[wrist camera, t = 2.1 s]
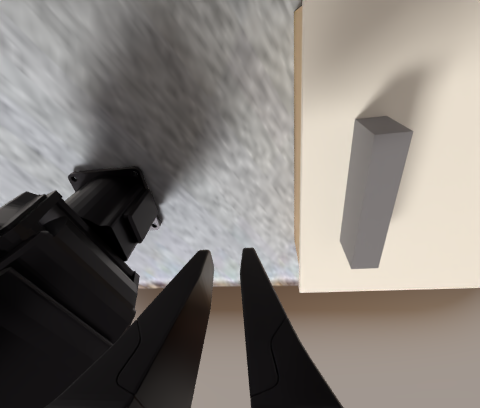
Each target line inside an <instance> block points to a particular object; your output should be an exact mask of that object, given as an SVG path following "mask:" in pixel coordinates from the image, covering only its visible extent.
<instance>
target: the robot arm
mask: <svg viewBox="0 0 480 408" xmlns="http://www.w3.org/2000/svg"><path fill="white" fill-rule="evenodd" d="M133 171H135V172H137V174H134V172H133ZM74 177H76V178H77V179H75V178H74ZM68 179H69V181H70V183H71V184H72V186H73V188H74V190H75V193H74V194H73V195H71V196H70V197H69V198H68V199H67V200H65V201H64V200H63V199H62V196H61V195H60V194H59V193H58V192H57V191H56V190H55V191H53V192H51V193H49V194H47V195H45V194H43V195H36V194H33V193H30V192H24V193H23V194H21V195H19V196H17V197H16V198H14V199H13V200H11V201H10V202H8V203H7V204H5V205H4V206H2V207H1V208H0V408H191V403H192V399H193V394H194V389H195V384H196V379H197V374H198V369H199V364H200V359H201V354H202V349H203V344H204V339H205V334H206V329H207V324H208V319H209V314H210V309H211V298H212V287H213V275H214V264H213V260H212V256H211V252H210V251H209V250H199V251H198V252H197V253H196V254H195V255H194V256H193V257H192V258H191V260H190V261H189V262H188V263H187V264H186V265H185V266H184V267H183V268H182V270H181V271H180V272H179V273H178V274H177V275H176V276H175V277H174V278H173V279H172V281H171V282H170V283H169V284H168V285H167V286H166V287H165V288H164V289H163V291H162V292H161V293H160V294H159V295H158V296H157V297H156V298H155V299H154V301H153V302H152V303H151V304H150V305H149V306H148V307H147V308H146V309H145V310H144V312H143V313H142V314H141V315H140V316H139V317H138V318H137V320H136V321H134V323H133V324H132V325H131V323H132V321H133V319H134V317H135V313H136V311H135V303H136V298H137V290H138V283H139V277H140V276H139V275H138V274H137V273H136V272H135V271H132V270H131V269H130V268H129V267H128V265H127V264H126V263H125V262H124V261H127V260H128V258H129V256H130V255H131V253H132V251H133V250H134V248H135V246H136V245H137V243H141V242H142V241H143V239H144V238H145V236H146V234H147V232H148V231H149V230H157V229H159V227H160V225H161V222H160V220H159V217H158V210H157V207H156V205H155V202H154V199H153V196H152V194H151V191H150V190H149V189H148V187H147V184H146V181H145V179H144V176H143V173H142V171H141V169H140V168H138V167H135V166H134V167H123V168H112V169H101V170H90V171H79V172H72V173H71V174H70V175H69V176H68ZM154 224H156V225H154ZM240 281H241V293H242V304H243V317H244V329H245V341H246V352H247V365H248V376H249V388H250V398H251V408H343V406H342V405H341V403H340V402H339V401H338V399H337V398H336V396H335V395H334V393H333V392H332V390H331V388H330V387H329V386H328V384H327V382H326V381H325V380H324V378H323V376H322V375H321V373H320V372H319V370H318V369H317V367H316V366H315V364H314V363H313V361H312V360H311V358H310V357H309V355H308V353H307V352H306V350H305V348H304V347H303V345H302V343H301V342H300V340H299V338H298V336H297V334H296V332H295V330H294V329H293V327H292V325H291V322H290V321H289V319H288V318H287V315H286V313H285V311H284V309H283V307H282V304H281V302H280V301H279V298H278V296H277V294H276V292H275V290H274V288H273V286H272V284H271V282H270V280H269V278H268V276H267V274H266V272H265V270H264V268H263V266H262V264H261V262H260V260H259V258H258V256H257V254H256V251H255V249H254V248H244V249H243V252H242V260H241V268H240ZM130 325H131V326H130Z"/></svg>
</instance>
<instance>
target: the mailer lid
mask: <svg viewBox="0 0 480 408" xmlns="http://www.w3.org/2000/svg"><path fill="white" fill-rule="evenodd" d="M450 288H480V0H302V72H301V154H300V236H299V290H300V292H301V293H305V292H340V291H375V290H411V289H412V290H413V289H450Z"/></svg>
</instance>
